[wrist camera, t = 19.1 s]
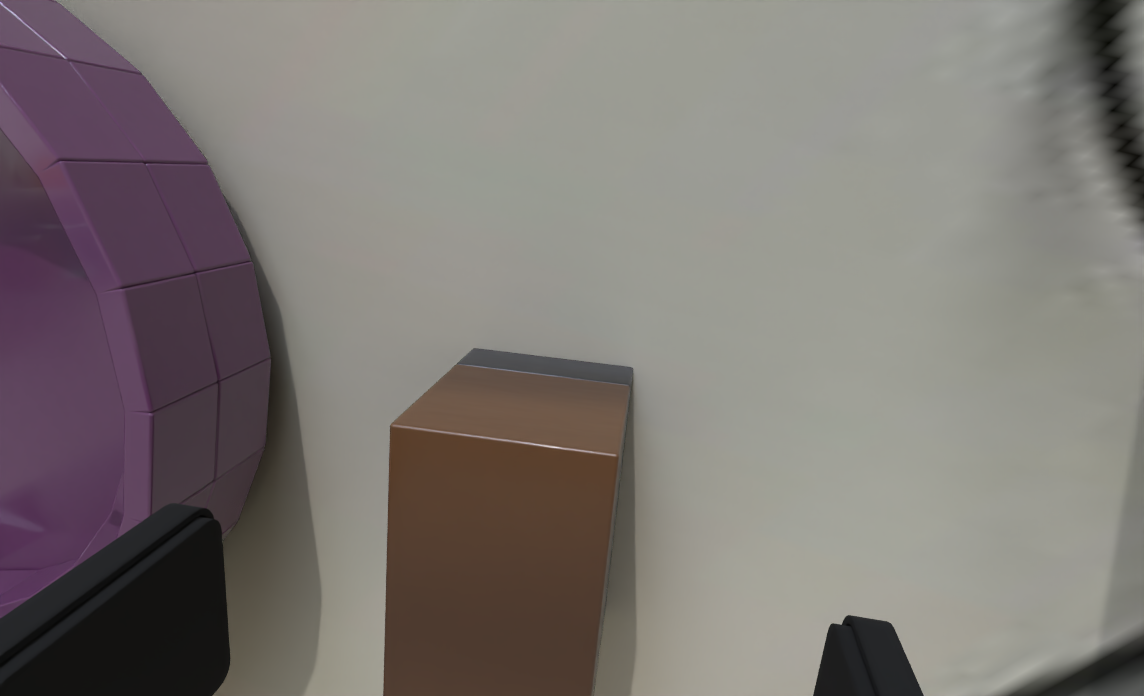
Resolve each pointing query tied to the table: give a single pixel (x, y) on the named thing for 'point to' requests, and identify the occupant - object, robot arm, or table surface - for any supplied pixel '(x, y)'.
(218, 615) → the robot arm
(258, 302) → the bowl
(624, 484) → the table surface
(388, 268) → the table surface
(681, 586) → the table surface
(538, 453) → the brown rectangular block
